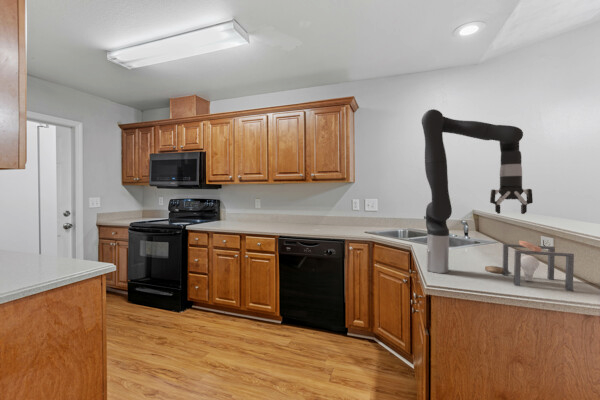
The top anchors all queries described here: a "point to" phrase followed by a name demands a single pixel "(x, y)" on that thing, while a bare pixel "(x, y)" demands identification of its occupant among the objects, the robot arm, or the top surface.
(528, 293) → the top surface
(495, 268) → the pad
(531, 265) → the lightbulb
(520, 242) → the bar
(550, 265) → the frame
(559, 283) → the top surface
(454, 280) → the top surface
